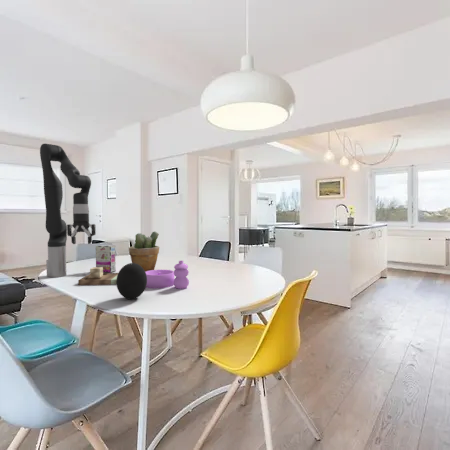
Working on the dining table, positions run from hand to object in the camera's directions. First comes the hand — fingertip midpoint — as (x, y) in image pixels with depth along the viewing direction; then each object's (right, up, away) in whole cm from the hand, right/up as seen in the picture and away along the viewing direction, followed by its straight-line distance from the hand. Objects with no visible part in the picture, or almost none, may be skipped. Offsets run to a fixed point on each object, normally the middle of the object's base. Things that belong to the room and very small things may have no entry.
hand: (81, 243), depth 160 cm
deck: (+13, -20, +2) cm, 24 cm away
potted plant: (+26, -19, +27) cm, 42 cm away
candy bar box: (+2, -19, +28) cm, 34 cm away
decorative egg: (+37, -21, -32) cm, 53 cm away
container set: (+47, -21, -9) cm, 52 cm away
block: (+7, -17, +1) cm, 19 cm away
